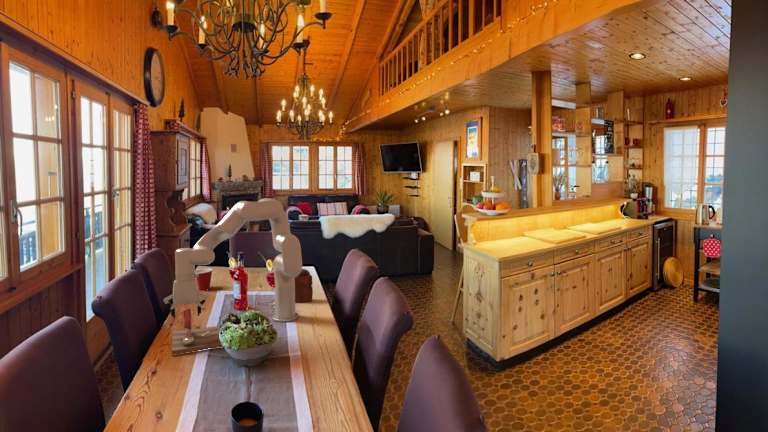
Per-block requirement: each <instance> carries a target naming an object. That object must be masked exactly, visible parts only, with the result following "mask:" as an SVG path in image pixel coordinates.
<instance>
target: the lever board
mask: <svg viewBox="0 0 768 432" xmlns="http://www.w3.org/2000/svg"><path fill="white" fill-rule="evenodd" d="M219 329H220V330H221V328H220V325H216V326H209V327H202V328H201V327H200V328H192V329H191V337H194V344H192V345H188V346H185V345H183V338H185V331H184V330H177V331H172V343H171V356H172V355H174V354H180V353H186V352H192V351H198V350H203V349H208V348H216V347H222V345H221V342H220V340H219ZM174 356H175V355H174Z"/></svg>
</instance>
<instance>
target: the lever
mask: <svg viewBox="0 0 768 432" xmlns="http://www.w3.org/2000/svg"><path fill="white" fill-rule="evenodd" d="M182 314H183V316H182V317H183V331H185V338H183V345H185V346H188V345H192V344H194V337H191V330H192V329H193V328H192V310H191V308H189V307H188V308H183V309H182Z"/></svg>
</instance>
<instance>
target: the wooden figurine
mask: <svg viewBox="0 0 768 432" xmlns="http://www.w3.org/2000/svg"><path fill="white" fill-rule="evenodd" d="M294 278H295V303H308V302H309V303H310V302H311V303H312V301H313V297H314V296H313V293H314V291H313V286H312V285H313V275H312V274H311V272H310V271H309V270H307V269H305V268H302V270H301V272H300V274H299V275H298V276H296V277H294Z"/></svg>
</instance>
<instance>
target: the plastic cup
mask: <svg viewBox="0 0 768 432" xmlns="http://www.w3.org/2000/svg"><path fill="white" fill-rule="evenodd" d="M213 270H214V269H213V268H212V267H211V268H210V267H209V268H208V267H207V268H206V267H205V268H199V269H195V273H197V274H199V277H196V278H195V279H197V282H198V291H201V290H205V291H208V290H207V289H209V290H210V287H211V282H212V274H213Z"/></svg>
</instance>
